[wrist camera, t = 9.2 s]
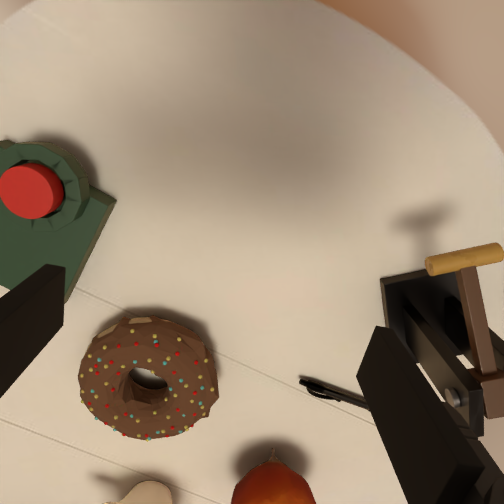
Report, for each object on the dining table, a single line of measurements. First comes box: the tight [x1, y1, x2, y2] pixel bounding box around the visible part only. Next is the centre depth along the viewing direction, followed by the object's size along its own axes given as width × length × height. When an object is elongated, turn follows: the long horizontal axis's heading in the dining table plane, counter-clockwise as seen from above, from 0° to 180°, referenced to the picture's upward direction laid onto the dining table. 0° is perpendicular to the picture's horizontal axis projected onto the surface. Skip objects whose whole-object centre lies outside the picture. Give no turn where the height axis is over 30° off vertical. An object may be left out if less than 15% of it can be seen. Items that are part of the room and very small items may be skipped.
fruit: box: [231, 448, 316, 504], centre depth 41 cm, size 10×9×10 cm
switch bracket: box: [380, 270, 504, 437], centre depth 31 cm, size 10×8×13 cm
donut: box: [78, 315, 219, 442], centre depth 37 cm, size 14×14×5 cm
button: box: [0, 163, 64, 219], centre depth 28 cm, size 4×4×2 cm
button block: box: [0, 140, 117, 304], centre depth 32 cm, size 14×10×4 cm
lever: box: [425, 243, 504, 419], centre depth 27 cm, size 12×5×2 cm, turn 13°
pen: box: [299, 379, 370, 411], centre depth 41 cm, size 14×2×1 cm, turn 66°
